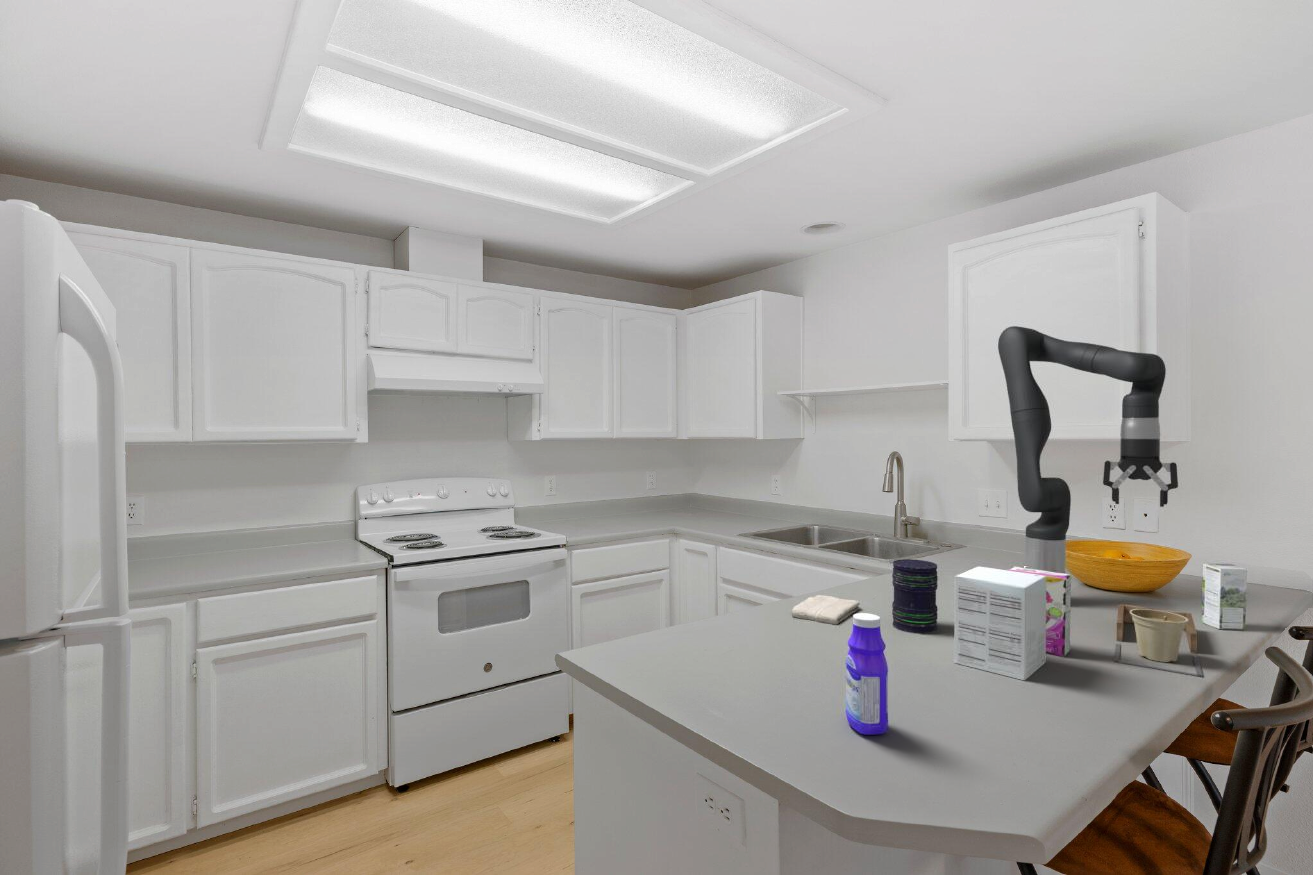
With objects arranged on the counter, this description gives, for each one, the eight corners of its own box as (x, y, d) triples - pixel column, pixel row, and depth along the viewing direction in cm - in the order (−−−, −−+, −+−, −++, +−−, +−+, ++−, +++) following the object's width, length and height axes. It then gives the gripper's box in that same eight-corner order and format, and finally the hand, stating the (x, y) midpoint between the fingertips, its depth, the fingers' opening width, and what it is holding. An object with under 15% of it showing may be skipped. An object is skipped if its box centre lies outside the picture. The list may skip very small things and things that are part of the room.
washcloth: (861, 610, 168) (861, 598, 168) (837, 627, 153) (837, 614, 153) (817, 603, 175) (817, 591, 175) (790, 619, 160) (790, 606, 160)
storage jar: (891, 630, 149) (891, 566, 149) (892, 619, 158) (892, 558, 158) (938, 635, 146) (938, 569, 145) (937, 623, 155) (937, 561, 154)
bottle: (840, 717, 105) (840, 610, 105) (874, 716, 105) (874, 609, 105) (857, 738, 98) (858, 623, 97) (894, 737, 98) (894, 622, 98)
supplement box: (976, 647, 138) (977, 565, 138) (1046, 663, 129) (1047, 575, 128) (952, 663, 129) (952, 575, 129) (1025, 681, 119) (1026, 587, 119)
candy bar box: (1005, 645, 139) (1005, 569, 139) (1011, 640, 143) (1012, 565, 142) (1065, 658, 131) (1066, 577, 131) (1071, 651, 135) (1071, 573, 135)
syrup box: (1226, 623, 154) (1227, 562, 154) (1246, 630, 149) (1247, 567, 148) (1200, 622, 155) (1201, 562, 155) (1219, 630, 149) (1220, 567, 149)
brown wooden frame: (1116, 640, 142) (1116, 622, 142) (1118, 620, 157) (1118, 603, 157) (1196, 653, 134) (1197, 634, 134) (1191, 630, 149) (1191, 613, 149)
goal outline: (1114, 661, 129) (1114, 660, 129) (1115, 644, 140) (1115, 643, 140) (1203, 677, 121) (1203, 676, 121) (1198, 657, 131) (1198, 656, 131)
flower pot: (1170, 651, 135) (1170, 609, 135) (1198, 667, 126) (1199, 623, 126) (1120, 648, 137) (1120, 607, 137) (1144, 664, 128) (1145, 620, 128)
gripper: (1102, 437, 155) (1102, 504, 156) (1179, 437, 147) (1178, 509, 147) (1104, 436, 161) (1103, 501, 162) (1177, 437, 153) (1176, 505, 153)
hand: (1139, 505), depth 154 cm, fingers open, 8 cm apart
